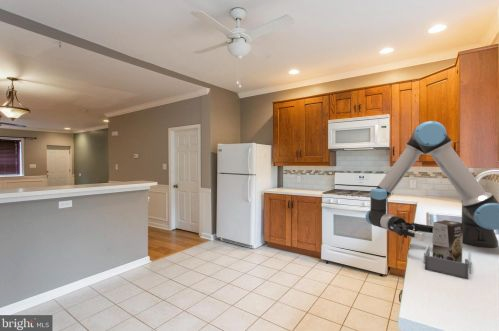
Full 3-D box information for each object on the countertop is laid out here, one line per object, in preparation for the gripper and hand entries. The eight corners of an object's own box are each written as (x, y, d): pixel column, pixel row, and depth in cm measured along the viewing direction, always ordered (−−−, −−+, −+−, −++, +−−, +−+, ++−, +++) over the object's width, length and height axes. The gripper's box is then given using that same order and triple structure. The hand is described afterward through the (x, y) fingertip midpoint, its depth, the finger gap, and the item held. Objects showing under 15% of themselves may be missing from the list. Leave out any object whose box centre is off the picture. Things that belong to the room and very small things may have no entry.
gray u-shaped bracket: (427, 253, 110) (427, 241, 110) (470, 261, 101) (470, 249, 101) (421, 268, 95) (422, 255, 95) (471, 280, 86) (472, 265, 86)
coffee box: (450, 268, 95) (451, 225, 94) (431, 262, 101) (432, 221, 100) (462, 264, 99) (463, 222, 99) (444, 258, 105) (444, 219, 104)
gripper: (413, 229, 127) (458, 242, 107) (371, 233, 120) (411, 248, 100) (413, 214, 127) (459, 225, 107) (372, 217, 120) (411, 229, 100)
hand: (436, 236), depth 103 cm, fingers open, 13 cm apart
